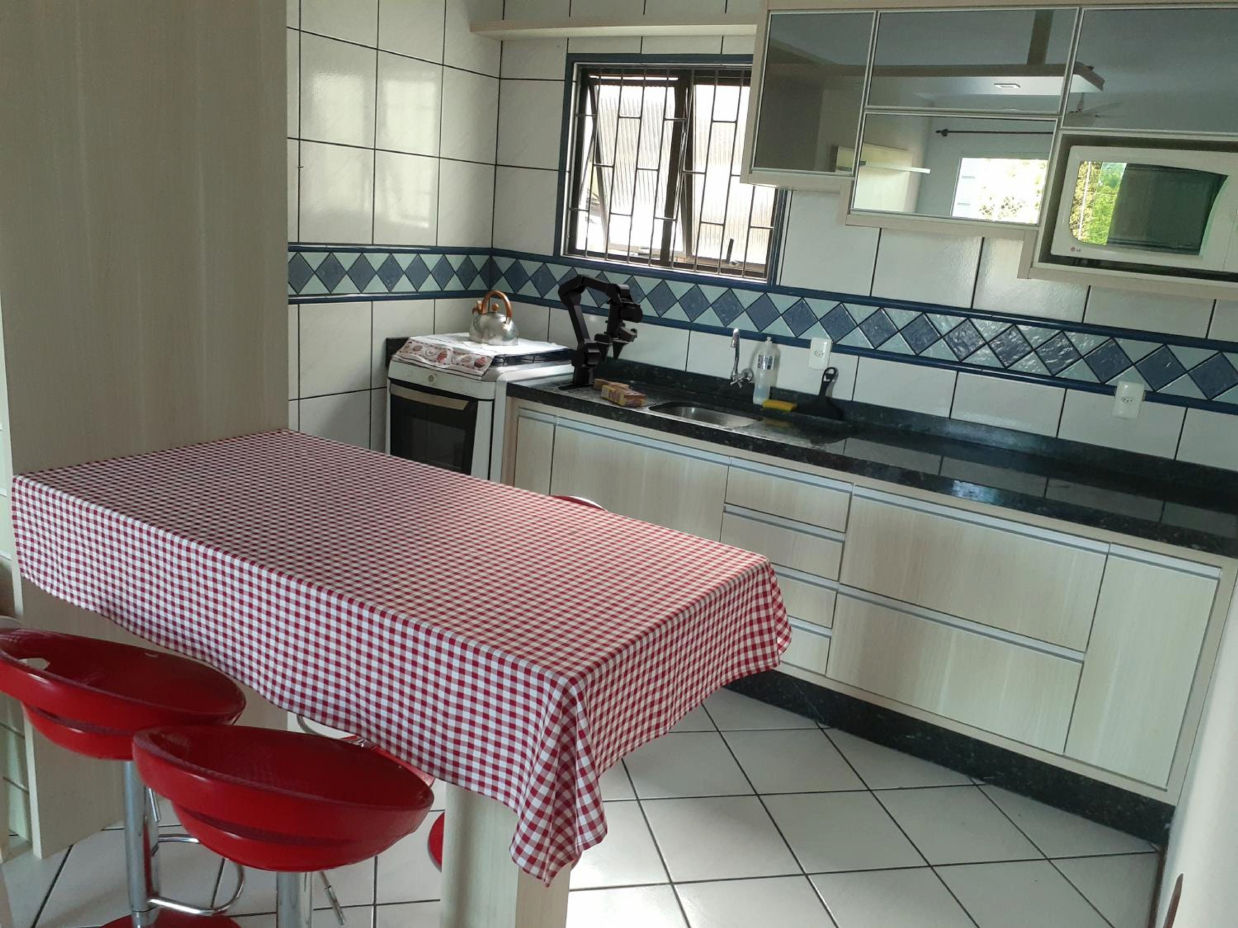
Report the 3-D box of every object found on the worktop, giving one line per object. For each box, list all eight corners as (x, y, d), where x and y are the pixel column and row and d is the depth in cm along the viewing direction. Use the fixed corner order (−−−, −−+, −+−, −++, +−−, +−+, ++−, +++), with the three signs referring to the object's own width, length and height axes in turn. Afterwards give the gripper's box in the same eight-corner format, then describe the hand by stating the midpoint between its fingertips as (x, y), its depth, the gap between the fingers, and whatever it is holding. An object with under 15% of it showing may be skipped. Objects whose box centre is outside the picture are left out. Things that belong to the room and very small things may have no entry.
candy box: (600, 397, 338) (621, 405, 325) (602, 385, 337) (623, 393, 324) (622, 398, 343) (644, 406, 330) (623, 386, 342) (645, 394, 329)
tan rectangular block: (591, 389, 353) (592, 379, 352) (599, 387, 358) (600, 378, 357) (619, 395, 348) (621, 386, 347) (627, 394, 353) (628, 385, 352)
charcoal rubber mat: (608, 400, 334) (608, 399, 334) (626, 397, 347) (626, 396, 347) (639, 407, 329) (639, 406, 329) (656, 404, 342) (656, 403, 342)
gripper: (623, 322, 336) (617, 366, 339) (646, 322, 352) (640, 364, 356) (596, 317, 340) (590, 361, 344) (620, 317, 357) (614, 358, 360)
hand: (609, 361), depth 351 cm, fingers open, 9 cm apart
